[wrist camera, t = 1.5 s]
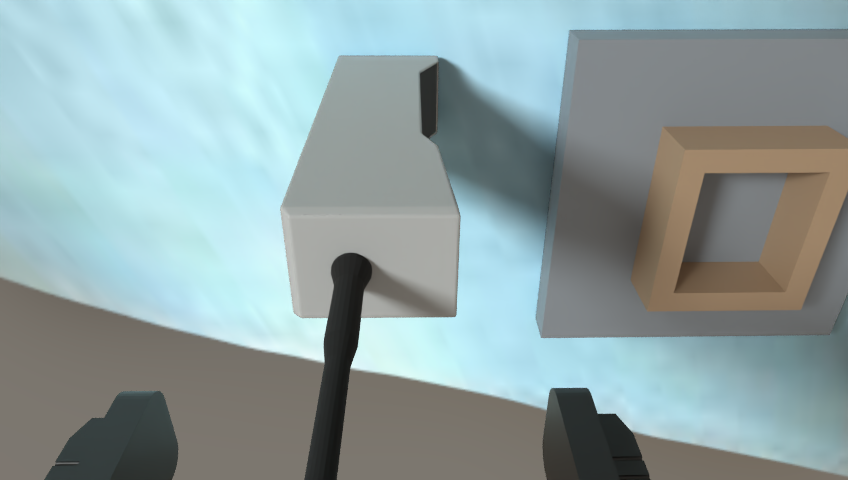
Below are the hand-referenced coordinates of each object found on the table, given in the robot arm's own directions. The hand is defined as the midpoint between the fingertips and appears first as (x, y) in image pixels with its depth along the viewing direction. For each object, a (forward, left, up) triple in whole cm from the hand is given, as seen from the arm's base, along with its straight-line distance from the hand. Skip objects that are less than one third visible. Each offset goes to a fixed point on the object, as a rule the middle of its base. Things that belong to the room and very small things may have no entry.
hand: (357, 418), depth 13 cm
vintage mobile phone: (0, 0, -23) cm, 23 cm away
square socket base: (+6, +18, -22) cm, 29 cm away
